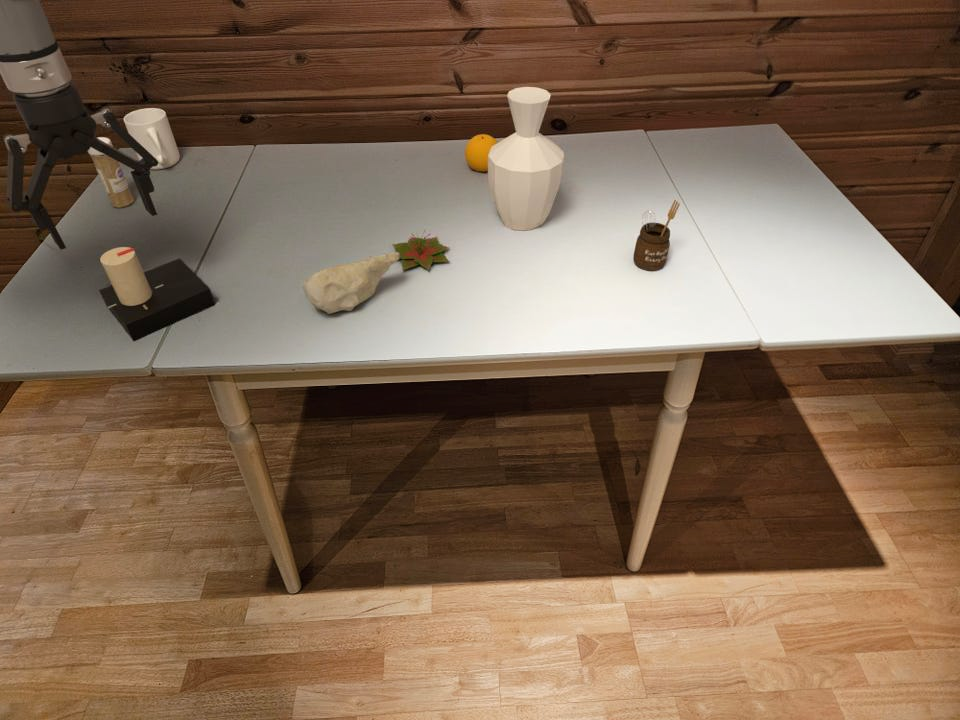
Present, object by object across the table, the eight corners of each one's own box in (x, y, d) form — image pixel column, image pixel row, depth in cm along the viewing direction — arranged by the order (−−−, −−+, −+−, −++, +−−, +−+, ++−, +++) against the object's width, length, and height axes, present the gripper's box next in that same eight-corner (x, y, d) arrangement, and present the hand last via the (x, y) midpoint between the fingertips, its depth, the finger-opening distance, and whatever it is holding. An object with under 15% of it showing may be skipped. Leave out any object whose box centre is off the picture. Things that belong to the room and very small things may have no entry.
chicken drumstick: (295, 331, 110) (345, 305, 99) (279, 289, 109) (327, 260, 99) (364, 311, 121) (415, 286, 111) (349, 273, 120) (400, 245, 110)
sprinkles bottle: (132, 207, 135) (106, 145, 126) (108, 209, 135) (81, 147, 125) (137, 196, 138) (112, 135, 129) (114, 198, 138) (88, 136, 129)
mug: (148, 180, 143) (130, 133, 136) (137, 159, 151) (120, 113, 143) (188, 170, 147) (173, 124, 139) (176, 150, 154) (160, 104, 147)
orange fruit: (504, 162, 149) (505, 130, 144) (494, 178, 144) (495, 145, 139) (471, 157, 151) (471, 125, 146) (460, 173, 146) (459, 140, 140)
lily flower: (382, 244, 125) (379, 223, 122) (443, 233, 128) (441, 213, 124) (395, 280, 117) (393, 258, 114) (460, 268, 119) (459, 246, 116)
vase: (529, 195, 138) (536, 74, 121) (573, 225, 130) (587, 99, 113) (473, 215, 132) (472, 91, 115) (515, 248, 124) (521, 118, 107)
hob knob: (126, 310, 105) (106, 267, 99) (115, 295, 108) (94, 253, 102) (157, 297, 107) (138, 254, 102) (145, 283, 110) (126, 241, 104)
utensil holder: (626, 257, 122) (637, 199, 113) (656, 250, 123) (668, 193, 115) (642, 274, 118) (654, 216, 109) (673, 267, 119) (687, 209, 111)
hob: (129, 343, 105) (121, 325, 102) (103, 308, 111) (94, 290, 109) (215, 304, 112) (209, 287, 109) (185, 274, 118) (179, 257, 116)
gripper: (-61, 123, 77) (26, 271, 91) (148, 70, 89) (196, 208, 103) (-75, 104, 81) (11, 249, 95) (127, 56, 93) (176, 191, 108)
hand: (107, 228), depth 99 cm, fingers open, 13 cm apart
